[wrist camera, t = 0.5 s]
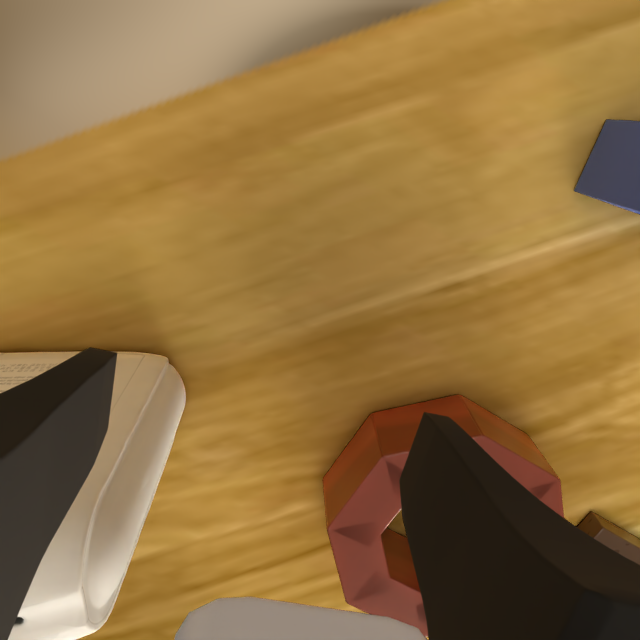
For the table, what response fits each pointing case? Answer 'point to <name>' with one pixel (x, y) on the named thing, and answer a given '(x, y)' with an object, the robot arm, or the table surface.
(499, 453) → the ring
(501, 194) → the table surface
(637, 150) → the walkman
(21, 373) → the white wireless mouse
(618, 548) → the post
